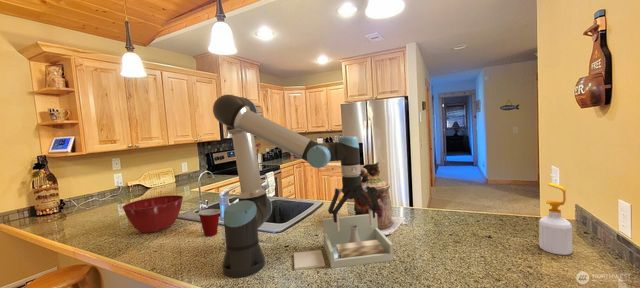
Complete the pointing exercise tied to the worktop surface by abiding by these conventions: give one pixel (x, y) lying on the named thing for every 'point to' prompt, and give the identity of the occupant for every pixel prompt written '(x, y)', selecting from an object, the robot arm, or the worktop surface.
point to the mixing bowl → (153, 213)
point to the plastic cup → (209, 221)
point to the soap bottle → (555, 228)
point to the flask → (354, 234)
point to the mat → (308, 260)
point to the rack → (365, 234)
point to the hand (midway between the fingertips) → (355, 228)
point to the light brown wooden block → (359, 249)
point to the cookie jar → (377, 199)
